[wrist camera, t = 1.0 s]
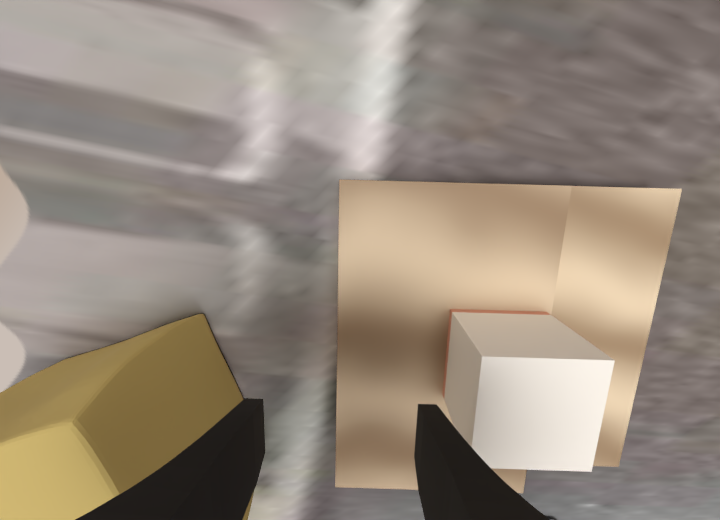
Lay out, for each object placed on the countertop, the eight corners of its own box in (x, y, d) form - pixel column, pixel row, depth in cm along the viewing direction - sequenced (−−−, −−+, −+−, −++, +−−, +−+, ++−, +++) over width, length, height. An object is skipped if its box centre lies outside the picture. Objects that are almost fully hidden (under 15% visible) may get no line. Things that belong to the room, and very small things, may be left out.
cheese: (134, 487, 24) (-28, 702, 14) (55, 350, 21) (-204, 491, 12) (275, 446, 23) (209, 646, 13) (208, 299, 21) (68, 406, 11)
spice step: (596, 441, 22) (645, 496, 18) (340, 433, 22) (335, 487, 18) (648, 188, 19) (724, 190, 15) (344, 180, 19) (339, 179, 15)
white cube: (533, 397, 17) (591, 471, 13) (442, 394, 17) (469, 467, 13) (546, 311, 16) (614, 360, 12) (449, 309, 16) (482, 356, 12)
